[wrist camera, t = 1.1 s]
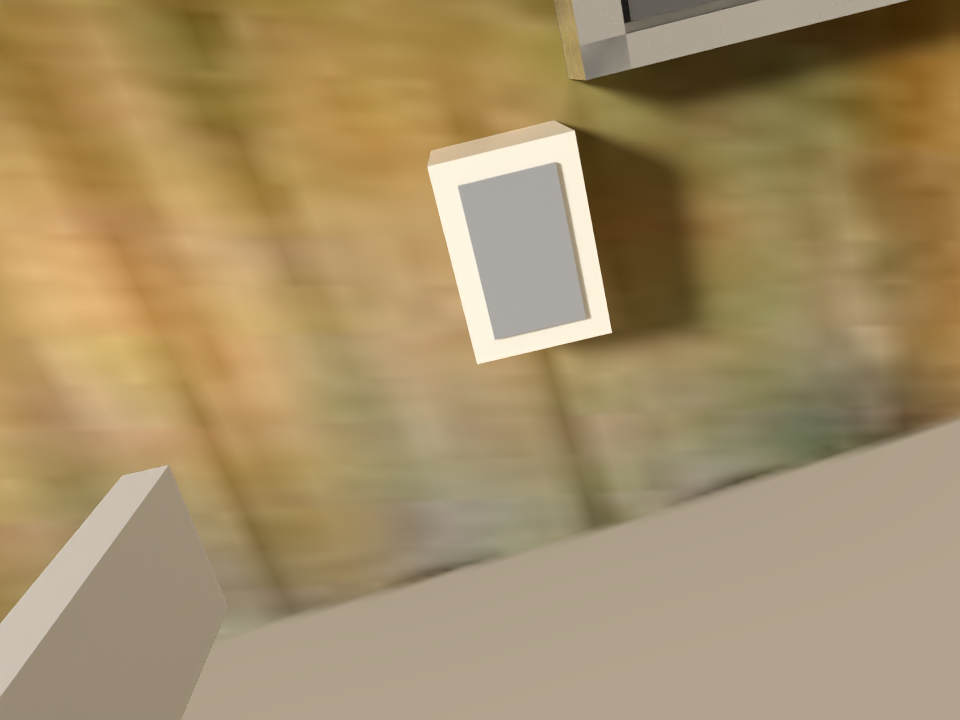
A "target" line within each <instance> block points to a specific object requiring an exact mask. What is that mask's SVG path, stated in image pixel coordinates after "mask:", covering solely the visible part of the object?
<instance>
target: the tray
mask: <svg viewBox="0 0 960 720" xmlns="http://www.w3.org/2000/svg"><path fill="white" fill-rule="evenodd" d="M903 1H907V0H554V3H555V9H556V14H557V20H558V25H559V30H560V36H561V41H562V47H563V52H564V58H565V63H566V69H567V74H568V79H576V80H589V79H593V78H597V77H601V76H605V75H609V74H613V73H617V72H621V71H625V70H629V69H633V68H637V67H641V66H645V65H649V64H654V63H658V62H662V61H666V60H670V59H674V58H678V57H682V56H686V55H690V54H694V53H698V52H702V51H706V50H710V49H714V48H718V47H722V46H726V45H730V44H734V43H738V42H742V41H746V40H750V39H754V38H758V37H762V36H766V35H770V34H774V33H778V32H782V31H786V30H790V29H794V28H798V27H802V26H806V25H810V24H814V23H818V22H823V21H827V20H831V19H835V18H839V17H843V16H847V15H851V14H855V13H859V12H863V11H867V10H871V9H875V8H879V7H883V6H887V5H891V4H895V3H899V2H903Z"/></svg>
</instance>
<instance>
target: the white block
mask: <svg viewBox="0 0 960 720" xmlns="http://www.w3.org/2000/svg"><path fill="white" fill-rule="evenodd" d="M427 167H428V171H429V175H430V179H431V183H432V187H433V191H434V195H435V199H436V203H437V207H438V211H439V215H440V219H441V223H442V227H443V231H444V235H445V238H446V242H447V246H448V250H449V254H450V258H451V262H452V266H453V270H454V274H455V278H456V282H457V286H458V290H459V294H460V298H461V302H462V306H463V310H464V314H465V317H466V321H467V325H468V329H469V333H470V337H471V341H472V345H473V349H474V353H475V357H476V361H477V364H480V363H484V362H488V361H493V360H497V359H501V358H506V357H510V356H514V355H519V354H523V353H527V352H531V351H536V350H540V349H544V348H549V347H553V346H557V345H562V344H566V343H570V342H575V341H579V340H583V339H587V338H592V337H596V336H600V335H605V334H609V333H612V330H611V325H610V319H609V314H608V308H607V303H606V298H605V292H604V287H603V281H602V276H601V271H600V265H599V260H598V254H597V249H596V243H595V238H594V233H593V227H592V222H591V216H590V211H589V206H588V200H587V195H586V189H585V184H584V179H583V173H582V168H581V162H580V157H579V151H578V146H577V141H576V135H575V130H573V129H571V128H569V127H567V126H565V125H563V124H560V123H558V122H556V121H550V122H545V123H541V124H537V125H533V126H529V127H525V128H521V129H517V130H513V131H509V132H505V133H501V134H497V135H493V136H489V137H485V138H481V139H477V140H472V141H468V142H464V143H460V144H456V145H452V146H448V147H444V148H440V149H436V150H432V151H431V153H430V158H429V162H428V166H427Z"/></svg>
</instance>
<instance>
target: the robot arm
mask: <svg viewBox="0 0 960 720" xmlns="http://www.w3.org/2000/svg"><path fill="white" fill-rule="evenodd" d="M227 609H228V605H227V602H226V600H225V597H224V595H223V593H222V590H221V588H220V585H219V583H218V581H217V578H216V576H215V574H214V571H213V569H212V566H211V564H210V562H209V559H208V557H207V555H206V552H205V550H204V547H203V545H202V543H201V540H200V538H199V535H198V533H197V531H196V528H195V526H194V524H193V521H192V519H191V516H190V514H189V512H188V509H187V507H186V505H185V502H184V500H183V497H182V495H181V493H180V490H179V488H178V485H177V483H176V481H175V478H174V476H173V474H172V471H171V469H170V466H169V465H167V466H162V467H158V468H154V469H149V470H145V471H140V472H136V473H132V474H127V475H123V476H122V477H121V478H120V479H119V480H118V481H117V483H116V484H115V485H114V486H113V488H112V489H111V490H110V491H109V492H108V494H107V495H106V496H105V497H104V498H103V500H102V501H101V502H100V503H99V505H98V506H97V507H96V508H95V509H94V511H93V512H92V513H91V514H90V515H89V517H88V518H87V519H86V520H85V522H84V523H83V524H82V525H81V526H80V528H79V529H78V530H77V531H76V532H75V534H74V535H73V536H72V537H71V539H70V540H69V541H68V542H67V543H66V545H65V546H64V547H63V548H62V549H61V551H60V552H59V553H58V554H57V556H56V557H55V558H54V559H53V560H52V562H51V563H50V564H49V565H48V566H47V568H46V569H45V570H44V571H43V573H42V574H41V575H40V576H39V577H38V579H37V580H36V581H35V582H34V583H33V585H32V586H31V587H30V588H29V589H28V591H27V592H26V593H25V594H24V596H23V597H22V598H21V599H20V600H19V602H18V603H17V604H16V605H15V606H14V608H13V609H12V610H11V611H10V613H9V614H8V615H7V616H6V617H5V619H4V620H3V621H2V622H1V623H0V720H181V718H182V716H183V714H184V711H185V709H186V707H187V704H188V702H189V699H190V697H191V695H192V692H193V690H194V688H195V685H196V683H197V681H198V678H199V676H200V673H201V671H202V669H203V666H204V664H205V662H206V659H207V657H208V654H209V652H210V649H211V647H212V645H213V643H214V640H215V638H216V635H217V633H218V631H219V628H220V626H221V624H222V621H223V619H224V617H225V614H226V612H227Z"/></svg>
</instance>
